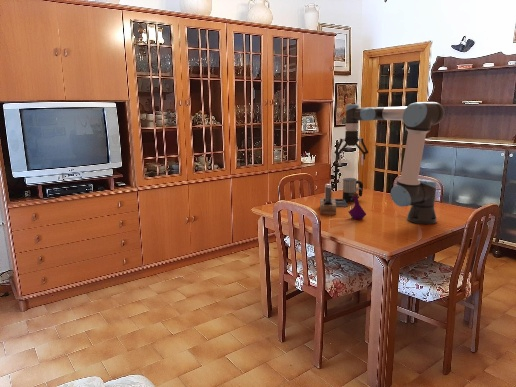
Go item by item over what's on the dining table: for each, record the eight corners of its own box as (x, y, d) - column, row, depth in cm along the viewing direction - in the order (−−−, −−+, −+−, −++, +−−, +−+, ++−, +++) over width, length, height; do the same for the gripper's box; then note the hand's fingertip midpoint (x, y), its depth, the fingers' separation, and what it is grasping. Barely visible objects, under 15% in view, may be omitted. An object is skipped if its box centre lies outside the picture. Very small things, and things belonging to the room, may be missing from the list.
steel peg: (330, 207, 249) (331, 184, 246) (324, 207, 249) (325, 184, 246) (330, 205, 252) (330, 183, 249) (324, 205, 253) (325, 183, 250)
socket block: (347, 206, 255) (348, 202, 254) (331, 206, 256) (331, 201, 256) (346, 202, 265) (346, 198, 264) (331, 202, 266) (331, 198, 265)
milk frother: (347, 202, 265) (348, 180, 262) (333, 198, 279) (333, 177, 275) (364, 200, 271) (365, 178, 268) (349, 195, 285) (350, 175, 282)
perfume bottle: (354, 220, 225) (355, 189, 221) (348, 217, 232) (349, 186, 228) (366, 219, 227) (367, 188, 223) (359, 216, 234) (360, 186, 230)
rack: (335, 214, 238) (336, 205, 236) (320, 214, 239) (320, 205, 238) (334, 206, 255) (334, 198, 254) (319, 206, 256) (320, 198, 255)
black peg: (331, 210, 240) (331, 188, 237) (325, 210, 241) (325, 188, 238) (330, 209, 244) (331, 186, 241) (324, 209, 244) (325, 186, 241)
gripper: (371, 129, 246) (370, 163, 251) (330, 130, 249) (330, 164, 253) (373, 130, 239) (372, 165, 244) (331, 131, 242) (331, 166, 246)
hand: (350, 165), depth 248 cm, fingers open, 13 cm apart
